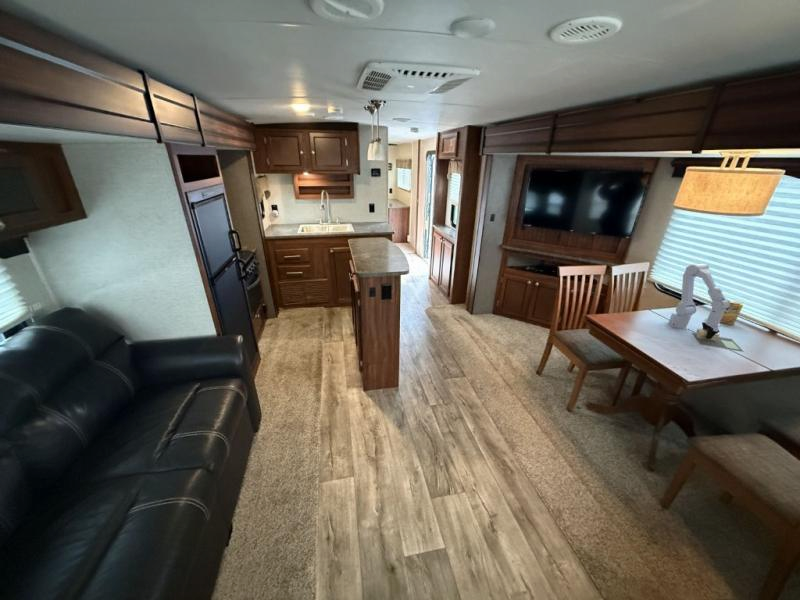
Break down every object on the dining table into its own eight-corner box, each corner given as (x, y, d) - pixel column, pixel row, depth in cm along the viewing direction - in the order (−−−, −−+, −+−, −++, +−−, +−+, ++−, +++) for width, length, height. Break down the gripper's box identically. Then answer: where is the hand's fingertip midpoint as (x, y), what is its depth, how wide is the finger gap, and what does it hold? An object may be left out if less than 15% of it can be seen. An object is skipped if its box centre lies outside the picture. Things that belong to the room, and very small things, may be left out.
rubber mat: (699, 344, 189) (700, 344, 189) (691, 332, 202) (691, 332, 202) (743, 352, 181) (743, 351, 181) (731, 339, 194) (731, 338, 194)
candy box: (716, 321, 216) (725, 301, 210) (715, 319, 219) (724, 299, 213) (733, 325, 210) (743, 305, 204) (733, 322, 213) (742, 303, 207)
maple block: (698, 337, 196) (700, 331, 194) (695, 334, 200) (697, 328, 198) (716, 341, 192) (719, 334, 190) (713, 337, 196) (716, 331, 194)
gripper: (728, 323, 182) (719, 342, 188) (718, 313, 194) (710, 332, 200) (713, 321, 185) (704, 340, 191) (704, 311, 197) (696, 329, 202)
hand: (706, 335), depth 195 cm, fingers open, 6 cm apart
